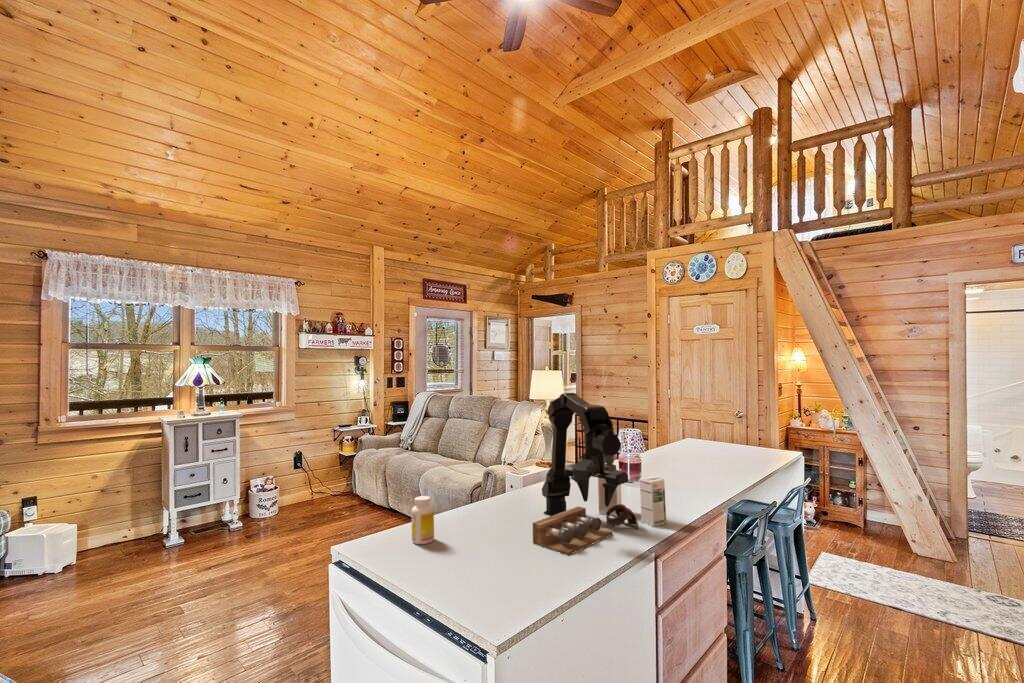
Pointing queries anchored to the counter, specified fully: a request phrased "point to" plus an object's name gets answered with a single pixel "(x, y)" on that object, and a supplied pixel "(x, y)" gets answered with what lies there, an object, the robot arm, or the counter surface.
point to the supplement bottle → (422, 521)
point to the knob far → (590, 522)
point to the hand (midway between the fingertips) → (596, 503)
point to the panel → (568, 516)
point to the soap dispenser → (601, 491)
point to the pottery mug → (620, 516)
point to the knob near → (561, 534)
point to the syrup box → (653, 501)
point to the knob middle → (576, 528)
